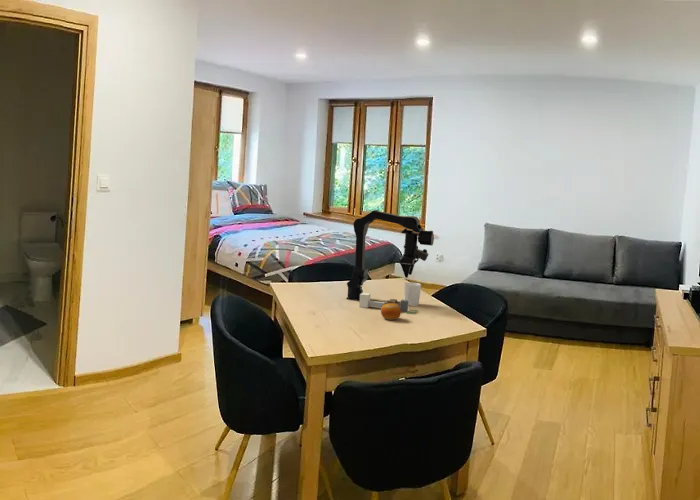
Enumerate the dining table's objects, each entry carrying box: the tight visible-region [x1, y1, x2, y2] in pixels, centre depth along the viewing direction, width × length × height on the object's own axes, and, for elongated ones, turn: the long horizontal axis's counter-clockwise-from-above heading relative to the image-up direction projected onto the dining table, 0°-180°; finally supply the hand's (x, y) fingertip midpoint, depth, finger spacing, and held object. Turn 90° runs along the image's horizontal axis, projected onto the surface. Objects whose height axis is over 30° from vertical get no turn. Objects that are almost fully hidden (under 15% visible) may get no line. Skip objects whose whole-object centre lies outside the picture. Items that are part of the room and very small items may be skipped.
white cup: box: [403, 281, 422, 307], centre depth 296 cm, size 8×8×10 cm
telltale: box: [399, 299, 409, 313], centre depth 281 cm, size 3×3×5 cm
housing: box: [384, 298, 419, 315], centre depth 282 cm, size 14×7×4 cm, turn 73°
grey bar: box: [358, 292, 399, 309], centre depth 285 cm, size 18×4×6 cm, turn 74°
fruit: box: [380, 303, 402, 321], centre depth 266 cm, size 8×8×8 cm
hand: (408, 276), depth 292 cm, fingers open, 9 cm apart
